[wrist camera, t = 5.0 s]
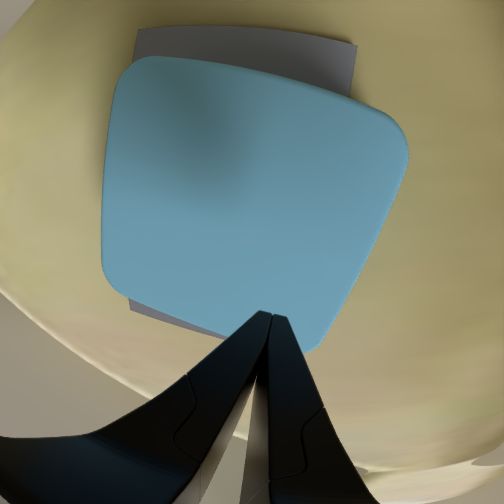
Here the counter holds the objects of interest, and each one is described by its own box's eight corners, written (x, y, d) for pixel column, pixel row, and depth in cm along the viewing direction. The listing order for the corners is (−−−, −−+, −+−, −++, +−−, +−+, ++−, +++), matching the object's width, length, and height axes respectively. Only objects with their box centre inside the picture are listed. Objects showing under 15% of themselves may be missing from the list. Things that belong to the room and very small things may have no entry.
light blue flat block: (391, 124, 12) (168, 64, 13) (422, 129, 8) (120, 54, 9) (312, 311, 18) (139, 251, 19) (309, 364, 14) (100, 287, 15)
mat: (355, 48, 11) (357, 45, 11) (280, 347, 21) (279, 353, 20) (143, 31, 12) (138, 29, 12) (133, 305, 22) (130, 309, 21)
